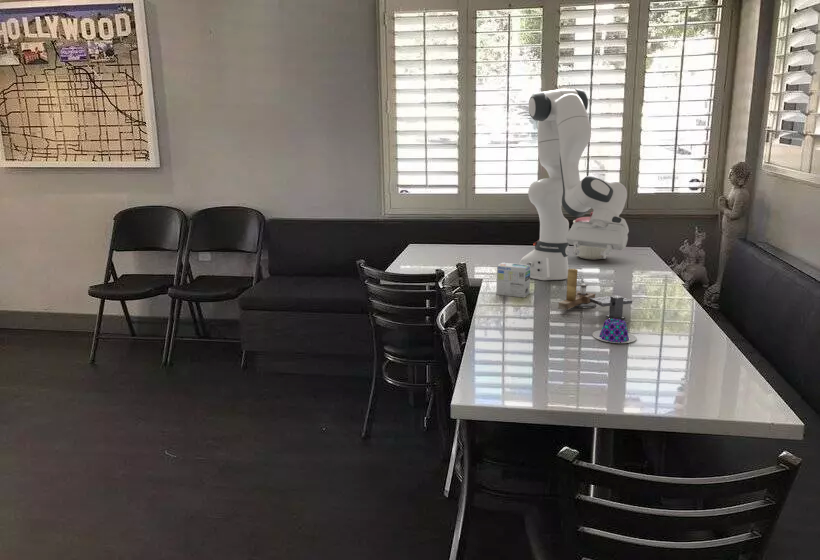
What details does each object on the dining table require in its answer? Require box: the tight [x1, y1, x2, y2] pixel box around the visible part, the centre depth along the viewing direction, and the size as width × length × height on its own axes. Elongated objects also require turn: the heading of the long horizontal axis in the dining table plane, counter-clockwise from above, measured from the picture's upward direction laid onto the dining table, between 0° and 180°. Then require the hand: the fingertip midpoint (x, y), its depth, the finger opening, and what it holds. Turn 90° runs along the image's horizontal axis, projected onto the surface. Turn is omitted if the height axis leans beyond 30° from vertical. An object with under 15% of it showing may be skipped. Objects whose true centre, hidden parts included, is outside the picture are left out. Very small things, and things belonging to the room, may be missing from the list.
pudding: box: [592, 318, 637, 344], centre depth 187 cm, size 12×12×5 cm
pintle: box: [573, 282, 597, 308], centre depth 221 cm, size 9×9×7 cm
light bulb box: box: [495, 262, 531, 298], centre depth 234 cm, size 11×7×11 cm, turn 65°
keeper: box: [590, 294, 633, 321], centre depth 207 cm, size 8×11×7 cm
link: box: [557, 268, 596, 311], centre depth 216 cm, size 18×6×12 cm, turn 141°
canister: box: [572, 211, 606, 261], centre depth 298 cm, size 18×18×21 cm
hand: (588, 255), depth 219 cm, fingers open, 8 cm apart
